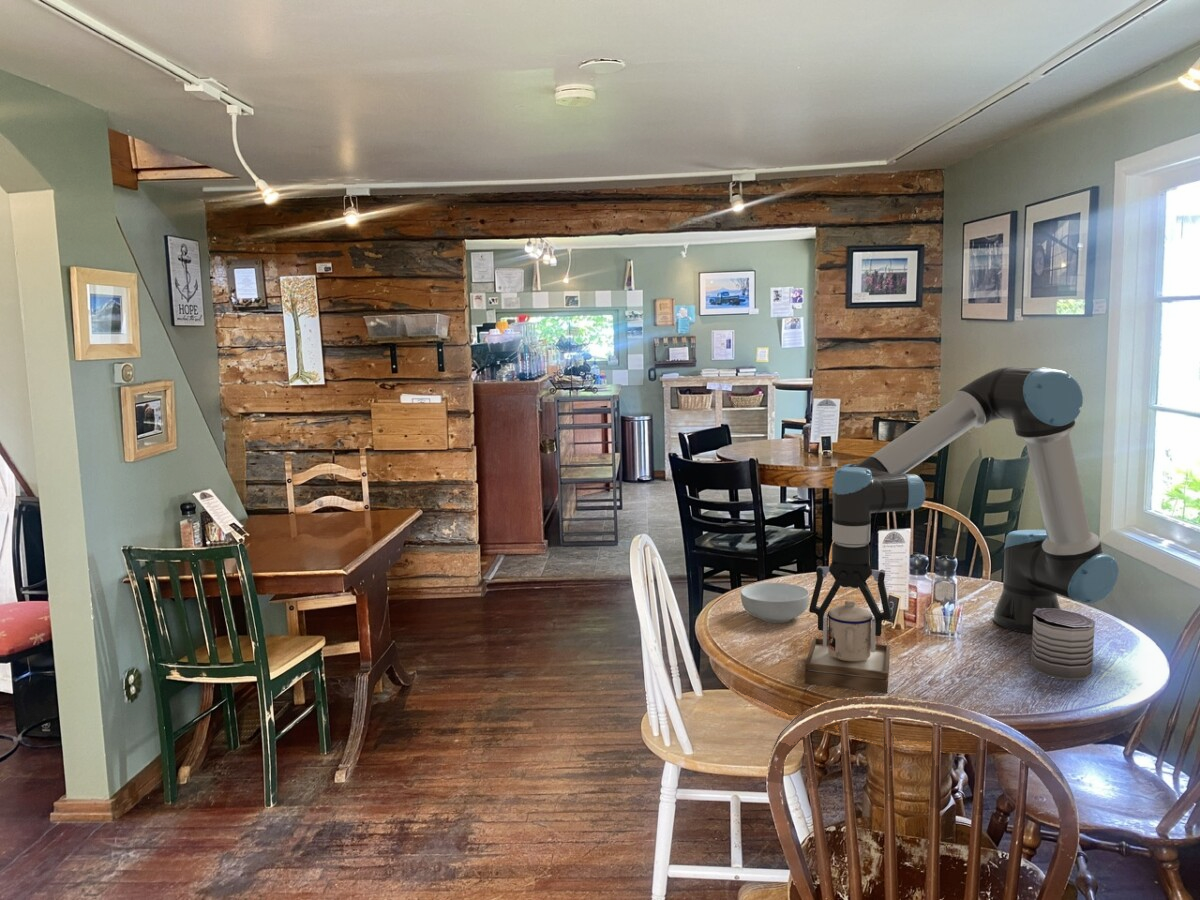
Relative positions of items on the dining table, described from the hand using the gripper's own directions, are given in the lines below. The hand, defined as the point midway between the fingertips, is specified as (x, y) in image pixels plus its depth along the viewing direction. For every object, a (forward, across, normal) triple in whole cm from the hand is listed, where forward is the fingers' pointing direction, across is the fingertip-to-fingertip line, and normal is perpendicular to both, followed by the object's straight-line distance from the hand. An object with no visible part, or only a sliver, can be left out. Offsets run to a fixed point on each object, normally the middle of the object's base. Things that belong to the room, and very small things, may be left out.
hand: (849, 647), depth 179 cm
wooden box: (+6, 0, 0) cm, 6 cm away
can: (+6, -42, -15) cm, 45 cm away
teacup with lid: (+2, 0, 0) cm, 2 cm away
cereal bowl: (+6, +20, -31) cm, 37 cm away
